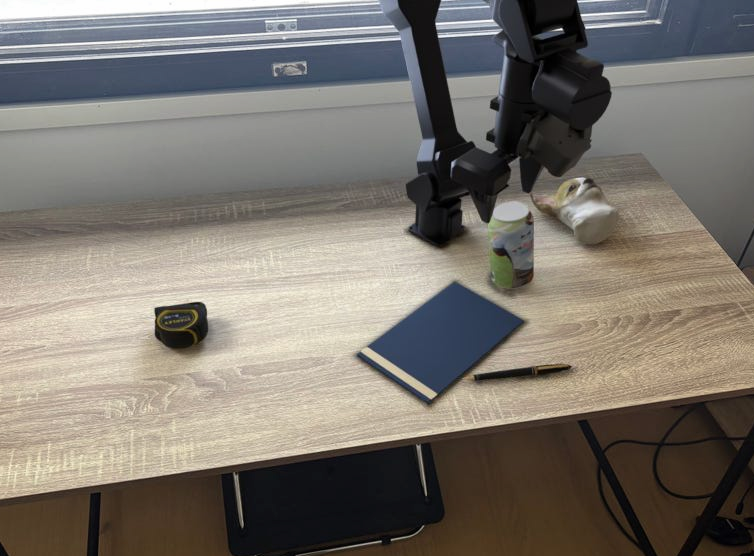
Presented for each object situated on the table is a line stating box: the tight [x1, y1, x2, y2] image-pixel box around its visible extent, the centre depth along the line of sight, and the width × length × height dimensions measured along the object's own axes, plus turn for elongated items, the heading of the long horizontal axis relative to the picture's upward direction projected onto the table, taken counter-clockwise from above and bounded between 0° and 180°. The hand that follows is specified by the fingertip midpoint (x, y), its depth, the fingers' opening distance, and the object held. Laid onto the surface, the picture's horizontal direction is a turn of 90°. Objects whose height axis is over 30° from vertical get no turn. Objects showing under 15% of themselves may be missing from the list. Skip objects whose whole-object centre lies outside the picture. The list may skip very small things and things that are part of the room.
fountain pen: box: [462, 363, 573, 382], centre depth 91 cm, size 14×1×2 cm, turn 98°
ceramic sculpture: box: [529, 177, 621, 245], centre depth 111 cm, size 11×9×15 cm
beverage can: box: [487, 200, 535, 290], centre depth 100 cm, size 6×7×12 cm
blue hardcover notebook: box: [356, 281, 525, 405], centre depth 96 cm, size 12×20×1 cm, turn 136°
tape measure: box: [153, 301, 209, 350], centre depth 95 cm, size 7×7×4 cm
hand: (506, 206), depth 95 cm, fingers open, 9 cm apart
